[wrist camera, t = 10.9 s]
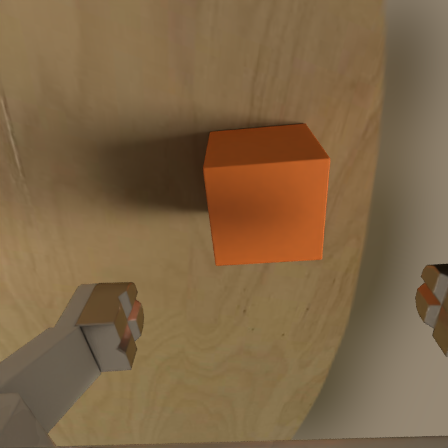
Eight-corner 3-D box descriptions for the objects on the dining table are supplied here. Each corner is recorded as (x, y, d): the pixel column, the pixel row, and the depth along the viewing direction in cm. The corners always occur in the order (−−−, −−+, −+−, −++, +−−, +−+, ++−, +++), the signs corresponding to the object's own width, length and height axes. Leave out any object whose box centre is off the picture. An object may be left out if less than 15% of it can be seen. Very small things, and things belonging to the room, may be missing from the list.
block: (209, 131, 15) (202, 168, 11) (305, 123, 15) (331, 158, 11) (218, 213, 17) (215, 266, 14) (302, 207, 17) (322, 260, 13)
